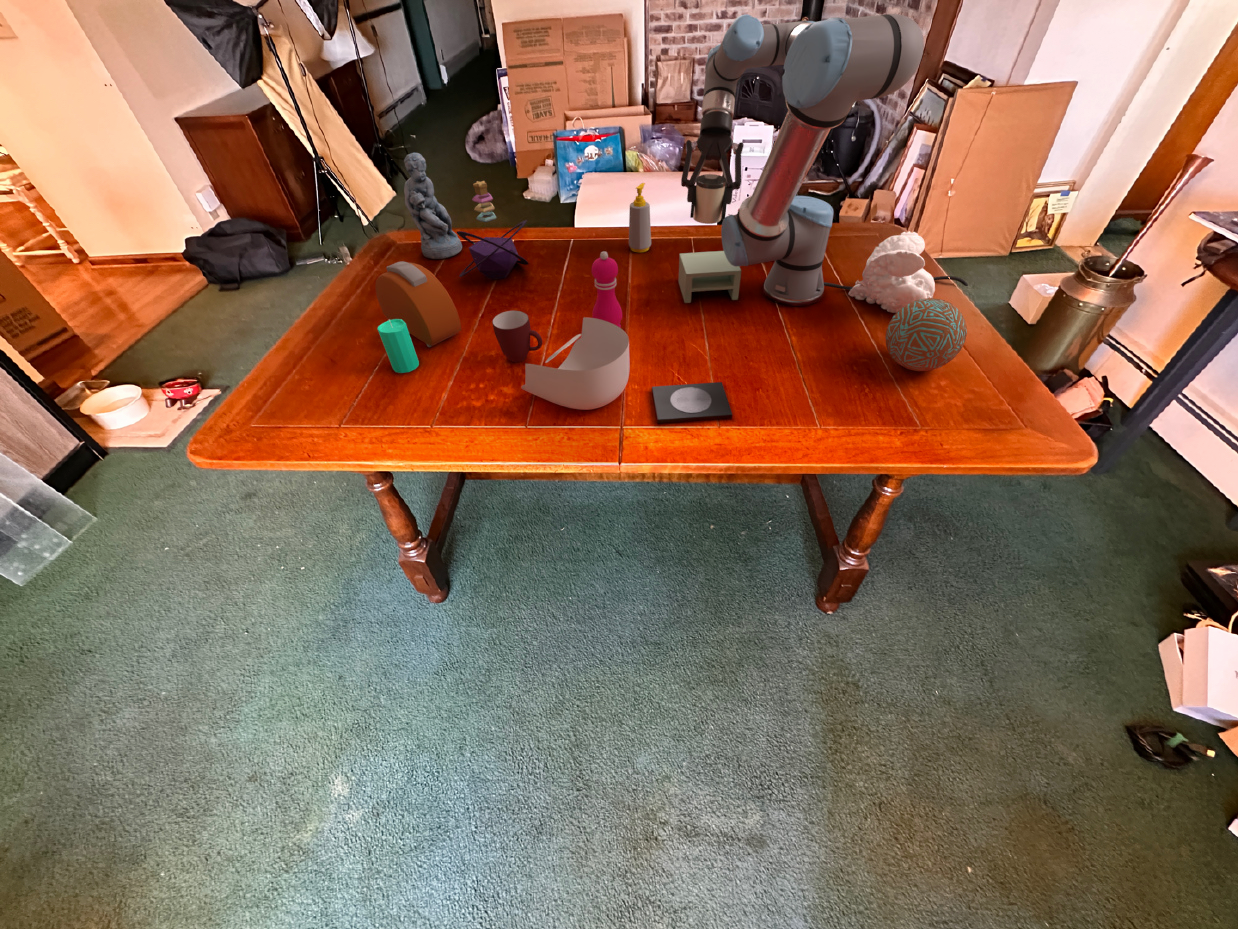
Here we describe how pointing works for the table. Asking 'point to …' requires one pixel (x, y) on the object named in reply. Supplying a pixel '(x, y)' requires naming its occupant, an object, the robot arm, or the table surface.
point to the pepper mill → (606, 290)
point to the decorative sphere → (926, 334)
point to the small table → (707, 274)
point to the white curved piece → (585, 369)
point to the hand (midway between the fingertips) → (707, 215)
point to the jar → (709, 198)
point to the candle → (398, 345)
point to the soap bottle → (639, 223)
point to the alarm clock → (417, 302)
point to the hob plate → (691, 403)
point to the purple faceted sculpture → (491, 242)
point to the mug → (515, 335)
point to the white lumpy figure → (895, 274)
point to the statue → (428, 212)
